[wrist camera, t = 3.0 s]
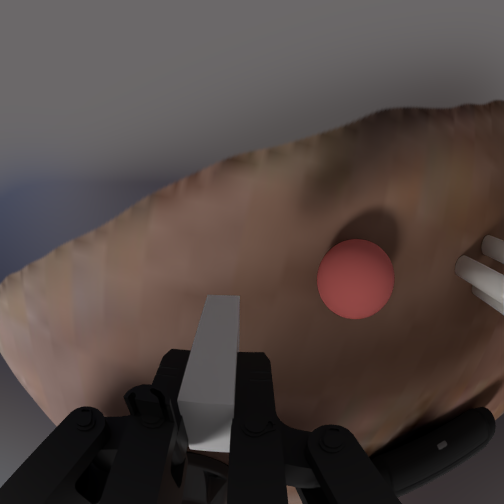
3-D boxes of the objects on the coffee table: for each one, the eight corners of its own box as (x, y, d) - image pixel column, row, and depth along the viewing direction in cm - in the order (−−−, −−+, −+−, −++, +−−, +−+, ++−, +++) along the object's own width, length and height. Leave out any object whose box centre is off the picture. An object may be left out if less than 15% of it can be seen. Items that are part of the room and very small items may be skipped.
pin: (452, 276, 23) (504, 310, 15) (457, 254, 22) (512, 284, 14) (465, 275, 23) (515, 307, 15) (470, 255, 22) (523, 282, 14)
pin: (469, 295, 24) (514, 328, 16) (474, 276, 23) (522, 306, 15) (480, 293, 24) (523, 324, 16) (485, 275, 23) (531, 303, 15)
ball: (305, 298, 23) (323, 337, 17) (312, 229, 21) (336, 250, 15) (368, 297, 23) (397, 330, 17) (378, 232, 21) (416, 252, 16)
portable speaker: (480, 393, 31) (504, 424, 21) (465, 422, 33) (485, 451, 24) (364, 451, 32) (380, 497, 22) (359, 472, 34) (372, 511, 25)
